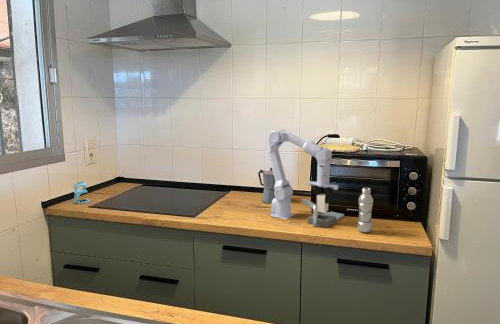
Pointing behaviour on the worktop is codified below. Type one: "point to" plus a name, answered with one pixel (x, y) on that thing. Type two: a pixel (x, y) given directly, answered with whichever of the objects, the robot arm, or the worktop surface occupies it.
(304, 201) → the grey piece
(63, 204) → the worktop surface
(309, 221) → the socket block
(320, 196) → the plug
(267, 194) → the moka pot
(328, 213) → the tile
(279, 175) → the robot arm
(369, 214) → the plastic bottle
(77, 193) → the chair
